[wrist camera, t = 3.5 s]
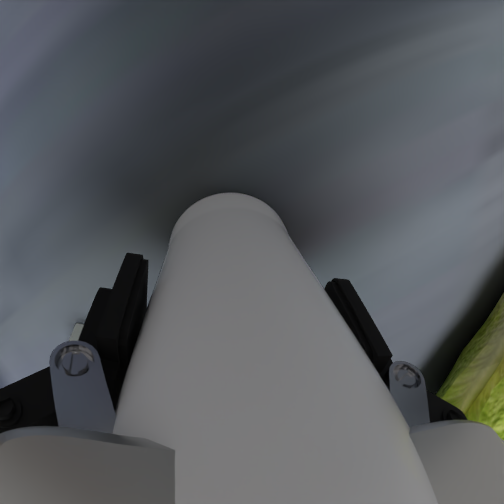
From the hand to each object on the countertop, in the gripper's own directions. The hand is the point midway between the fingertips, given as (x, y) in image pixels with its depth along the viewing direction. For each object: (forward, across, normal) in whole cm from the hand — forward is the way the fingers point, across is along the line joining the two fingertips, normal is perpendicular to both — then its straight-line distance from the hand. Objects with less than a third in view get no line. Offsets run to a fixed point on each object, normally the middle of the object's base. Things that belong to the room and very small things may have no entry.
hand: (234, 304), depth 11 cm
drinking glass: (+5, 0, 0) cm, 5 cm away
